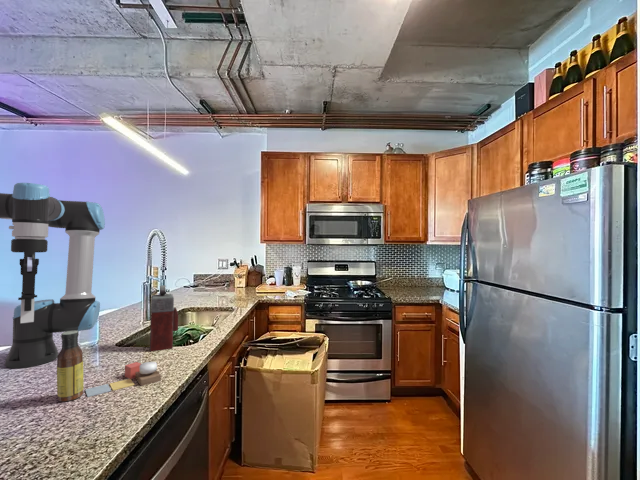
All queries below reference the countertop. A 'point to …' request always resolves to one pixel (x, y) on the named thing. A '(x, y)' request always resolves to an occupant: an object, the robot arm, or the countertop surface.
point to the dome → (148, 367)
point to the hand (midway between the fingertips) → (27, 321)
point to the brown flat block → (147, 378)
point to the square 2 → (121, 384)
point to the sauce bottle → (70, 368)
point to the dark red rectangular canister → (162, 321)
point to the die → (132, 370)
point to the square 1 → (97, 390)
